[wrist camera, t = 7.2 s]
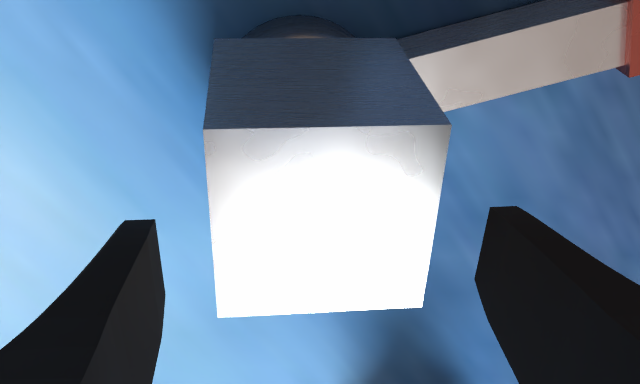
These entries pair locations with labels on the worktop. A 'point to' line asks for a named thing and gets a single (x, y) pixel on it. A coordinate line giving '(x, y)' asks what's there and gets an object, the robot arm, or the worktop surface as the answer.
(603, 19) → the ratchet
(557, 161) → the worktop surface
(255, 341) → the worktop surface
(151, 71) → the worktop surface
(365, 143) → the brushed white cube
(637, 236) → the worktop surface
